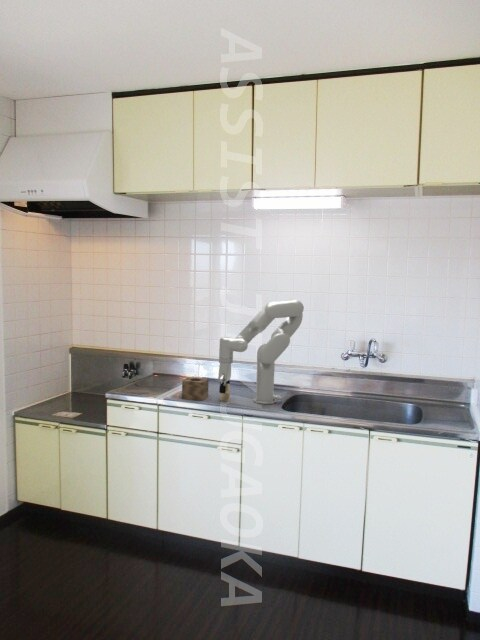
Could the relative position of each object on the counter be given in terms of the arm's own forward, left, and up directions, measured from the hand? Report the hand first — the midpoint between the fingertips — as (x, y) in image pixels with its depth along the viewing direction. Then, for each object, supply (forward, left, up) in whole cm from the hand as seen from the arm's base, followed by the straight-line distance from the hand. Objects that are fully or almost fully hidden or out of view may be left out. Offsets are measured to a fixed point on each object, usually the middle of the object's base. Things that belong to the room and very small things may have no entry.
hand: (224, 391), depth 282 cm
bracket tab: (0, 0, -5) cm, 5 cm away
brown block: (+17, 0, -5) cm, 18 cm away
